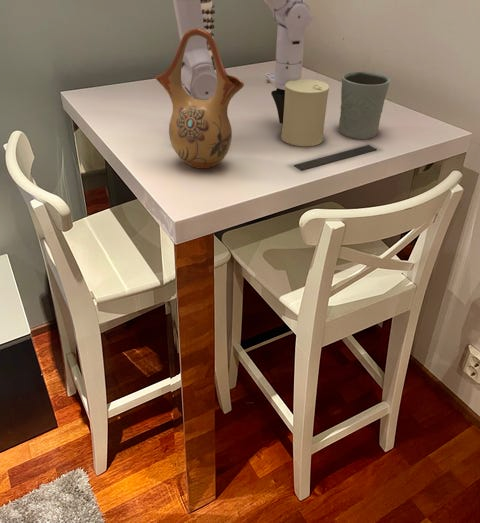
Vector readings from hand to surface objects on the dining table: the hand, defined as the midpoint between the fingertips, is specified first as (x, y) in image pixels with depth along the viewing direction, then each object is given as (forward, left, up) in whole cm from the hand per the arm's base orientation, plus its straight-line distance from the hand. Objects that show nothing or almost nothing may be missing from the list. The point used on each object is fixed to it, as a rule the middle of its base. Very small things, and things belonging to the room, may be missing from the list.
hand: (284, 122), depth 117 cm
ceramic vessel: (-23, +14, -1) cm, 27 cm away
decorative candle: (+29, +26, -1) cm, 40 cm away
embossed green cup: (+1, -17, -1) cm, 17 cm away
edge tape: (-14, -12, -1) cm, 18 cm away
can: (-5, -4, -1) cm, 7 cm away
